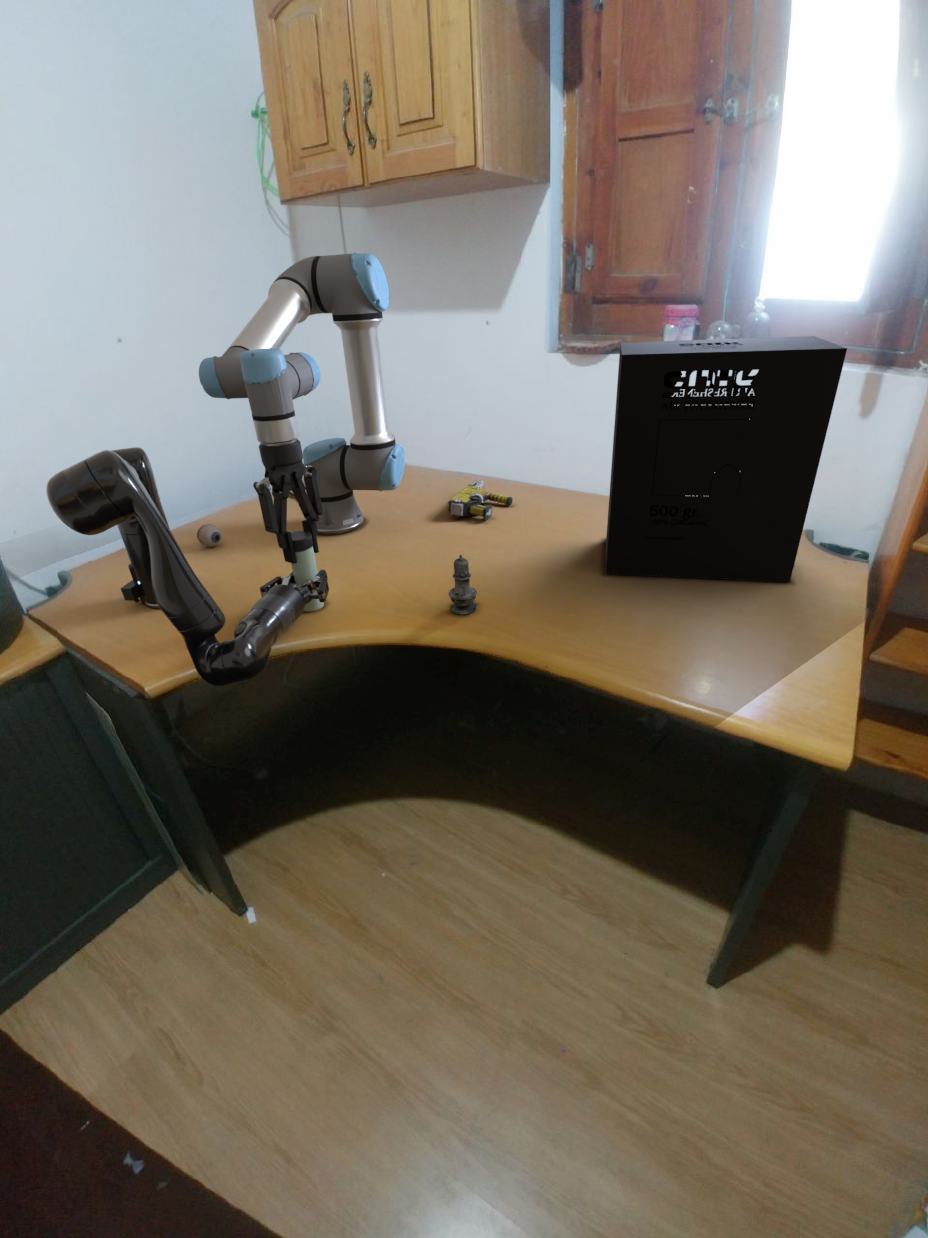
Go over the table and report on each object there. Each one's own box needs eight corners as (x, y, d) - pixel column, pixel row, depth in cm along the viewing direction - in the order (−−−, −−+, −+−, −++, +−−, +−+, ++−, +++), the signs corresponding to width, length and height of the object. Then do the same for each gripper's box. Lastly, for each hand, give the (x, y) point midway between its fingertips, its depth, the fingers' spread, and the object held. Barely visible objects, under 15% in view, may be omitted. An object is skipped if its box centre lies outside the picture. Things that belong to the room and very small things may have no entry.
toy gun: (520, 484, 182) (474, 477, 186) (498, 508, 162) (446, 499, 166) (519, 500, 184) (473, 492, 188) (497, 524, 164) (445, 516, 168)
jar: (317, 598, 131) (304, 531, 124) (327, 606, 128) (315, 538, 120) (296, 605, 129) (282, 538, 121) (306, 614, 125) (292, 544, 118)
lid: (288, 541, 124) (286, 531, 122) (315, 539, 124) (313, 529, 123) (284, 552, 119) (282, 541, 118) (312, 550, 119) (309, 539, 118)
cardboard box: (768, 543, 143) (813, 335, 121) (789, 582, 126) (847, 348, 104) (606, 538, 151) (620, 342, 128) (605, 574, 134) (622, 354, 111)
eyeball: (210, 552, 157) (204, 530, 154) (195, 548, 160) (189, 526, 157) (229, 544, 161) (224, 522, 158) (214, 540, 164) (208, 519, 161)
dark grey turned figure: (475, 615, 121) (472, 561, 115) (446, 614, 122) (442, 560, 116) (480, 601, 126) (478, 548, 120) (452, 600, 127) (449, 547, 121)
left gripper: (308, 596, 110) (341, 557, 124) (236, 593, 112) (276, 555, 127) (315, 631, 114) (346, 590, 128) (245, 627, 116) (284, 587, 131)
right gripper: (303, 428, 119) (323, 537, 131) (224, 450, 107) (253, 569, 118) (329, 432, 115) (347, 544, 127) (250, 455, 103) (278, 577, 114)
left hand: (311, 573), depth 127 cm, fingers closed on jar, 5 cm apart
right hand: (302, 556), depth 123 cm, fingers closed on lid, 5 cm apart
